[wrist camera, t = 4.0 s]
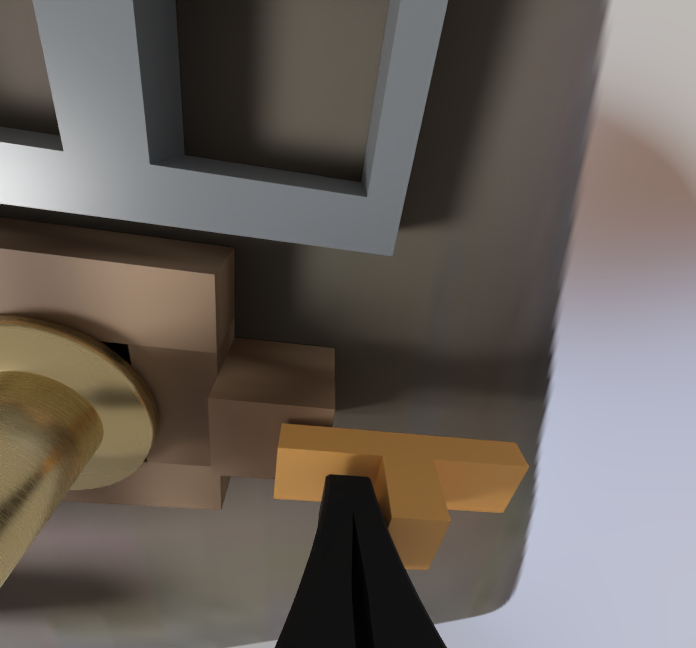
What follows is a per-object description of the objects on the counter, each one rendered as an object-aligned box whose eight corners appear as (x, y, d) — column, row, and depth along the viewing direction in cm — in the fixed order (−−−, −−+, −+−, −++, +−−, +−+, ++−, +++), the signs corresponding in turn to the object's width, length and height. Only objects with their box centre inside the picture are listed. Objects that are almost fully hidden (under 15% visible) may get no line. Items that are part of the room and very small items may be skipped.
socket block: (-9, 445, 17) (-87, 520, 14) (-120, 201, 12) (-287, 232, 9) (315, 468, 19) (312, 540, 15) (348, 262, 13) (353, 307, 10)
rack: (-103, 163, 11) (-208, 175, 9) (-299, -313, 7) (-582, -504, 5) (382, 232, 13) (392, 256, 11) (452, -126, 9) (492, -206, 6)
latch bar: (277, 472, 13) (263, 562, 10) (281, 423, 12) (267, 510, 9) (492, 487, 14) (529, 574, 11) (515, 442, 13) (563, 527, 10)
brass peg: (26, 416, 16) (-258, 697, 8) (-29, 268, 13) (-588, 506, 5) (190, 429, 17) (69, 698, 9) (179, 292, 14) (-28, 533, 6)
